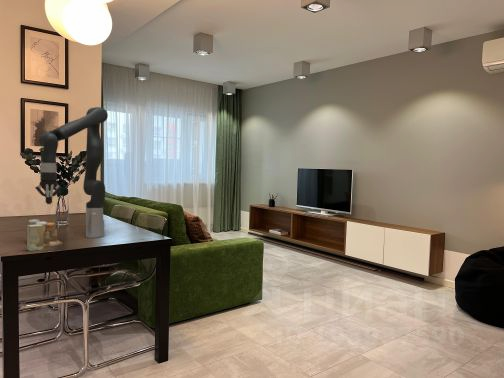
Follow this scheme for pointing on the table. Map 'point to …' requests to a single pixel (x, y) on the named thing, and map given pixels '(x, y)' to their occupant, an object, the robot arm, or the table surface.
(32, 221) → the white plug
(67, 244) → the table surface
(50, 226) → the rust plug
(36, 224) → the white plug
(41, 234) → the skincare box
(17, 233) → the table surface
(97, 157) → the robot arm
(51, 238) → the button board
